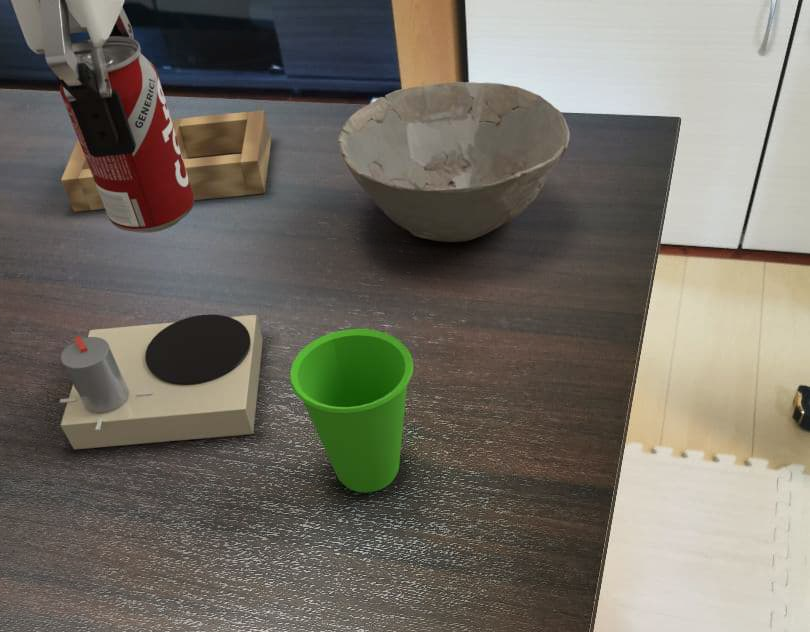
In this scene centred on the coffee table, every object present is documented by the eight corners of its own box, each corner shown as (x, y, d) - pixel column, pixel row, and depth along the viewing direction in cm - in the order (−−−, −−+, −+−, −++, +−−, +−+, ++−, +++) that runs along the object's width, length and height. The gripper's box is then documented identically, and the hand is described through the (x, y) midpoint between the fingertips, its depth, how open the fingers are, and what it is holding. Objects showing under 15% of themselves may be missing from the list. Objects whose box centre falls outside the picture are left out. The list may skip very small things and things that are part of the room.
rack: (74, 212, 99) (60, 179, 96) (94, 159, 107) (82, 128, 104) (264, 193, 98) (257, 160, 95) (271, 142, 106) (264, 109, 103)
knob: (135, 400, 73) (114, 352, 68) (91, 419, 72) (67, 371, 67) (120, 376, 75) (98, 327, 71) (77, 394, 74) (53, 345, 70)
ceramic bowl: (571, 276, 84) (579, 181, 76) (342, 287, 86) (327, 195, 78) (554, 163, 97) (559, 72, 89) (357, 175, 99) (346, 87, 91)
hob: (64, 459, 73) (49, 433, 71) (95, 355, 82) (82, 328, 79) (252, 443, 73) (244, 416, 70) (263, 339, 81) (256, 312, 79)
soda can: (138, 250, 63) (77, 84, 54) (96, 217, 67) (32, 56, 57) (213, 213, 66) (167, 48, 56) (168, 183, 69) (118, 24, 60)
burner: (138, 389, 74) (137, 387, 73) (154, 321, 80) (153, 319, 79) (246, 380, 73) (245, 377, 73) (254, 312, 79) (253, 309, 79)
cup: (336, 527, 66) (313, 426, 57) (299, 454, 71) (273, 351, 63) (440, 488, 68) (433, 383, 59) (396, 419, 73) (383, 314, 64)
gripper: (-11, -219, 52) (95, 79, 66) (-104, -142, 42) (45, 195, 56) (107, -233, 52) (188, 70, 66) (44, -160, 41) (157, 184, 55)
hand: (122, 125), depth 61 cm, fingers closed on soda can, 6 cm apart
